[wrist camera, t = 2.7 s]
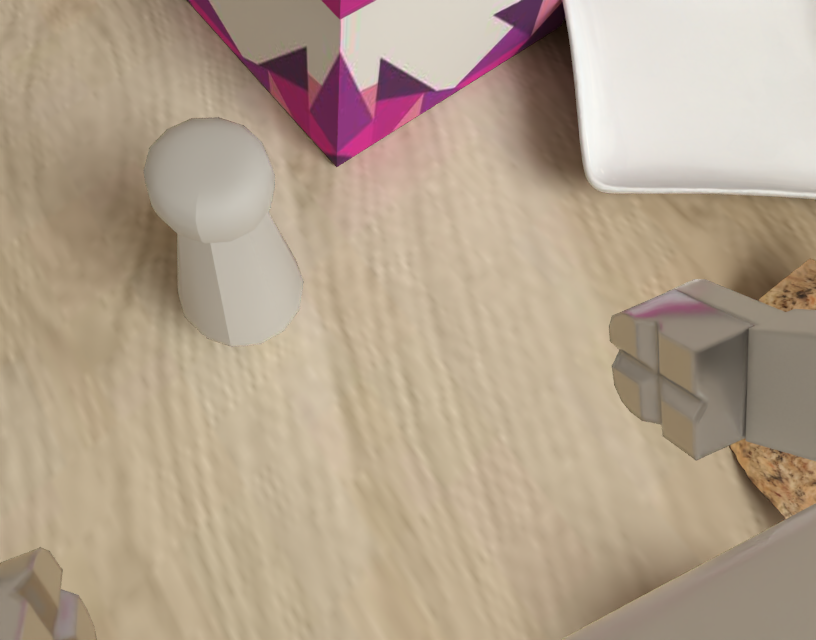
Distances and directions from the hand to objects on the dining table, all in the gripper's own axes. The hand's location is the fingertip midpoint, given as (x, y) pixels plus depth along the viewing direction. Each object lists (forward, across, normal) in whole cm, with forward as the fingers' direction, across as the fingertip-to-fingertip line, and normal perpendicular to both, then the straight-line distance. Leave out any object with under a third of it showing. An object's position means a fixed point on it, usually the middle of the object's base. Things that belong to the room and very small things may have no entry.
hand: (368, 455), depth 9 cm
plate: (+28, -32, +5) cm, 43 cm away
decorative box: (+38, -13, -5) cm, 40 cm away
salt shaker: (+25, 0, +8) cm, 26 cm away
